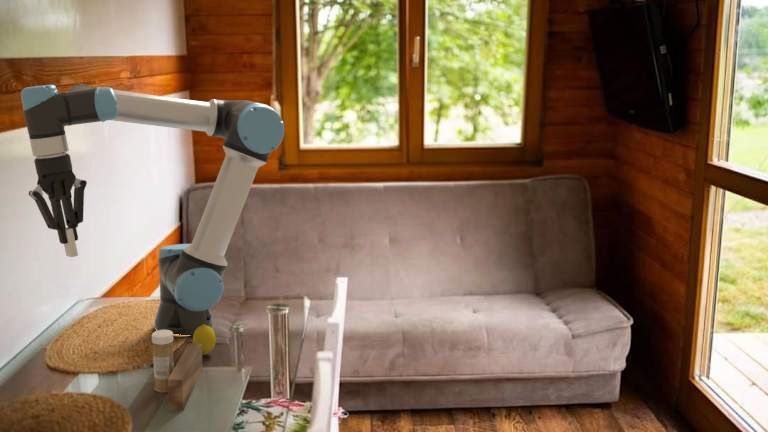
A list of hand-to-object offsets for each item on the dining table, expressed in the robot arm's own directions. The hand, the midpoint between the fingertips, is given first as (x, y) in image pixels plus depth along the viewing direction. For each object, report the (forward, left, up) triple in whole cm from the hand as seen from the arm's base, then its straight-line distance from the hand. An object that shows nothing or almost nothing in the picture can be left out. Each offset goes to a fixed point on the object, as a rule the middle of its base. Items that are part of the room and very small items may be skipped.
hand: (72, 255), depth 180 cm
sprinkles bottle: (-9, +25, -27) cm, 38 cm away
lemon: (-26, +13, -27) cm, 40 cm away
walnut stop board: (-13, +28, -27) cm, 41 cm away
